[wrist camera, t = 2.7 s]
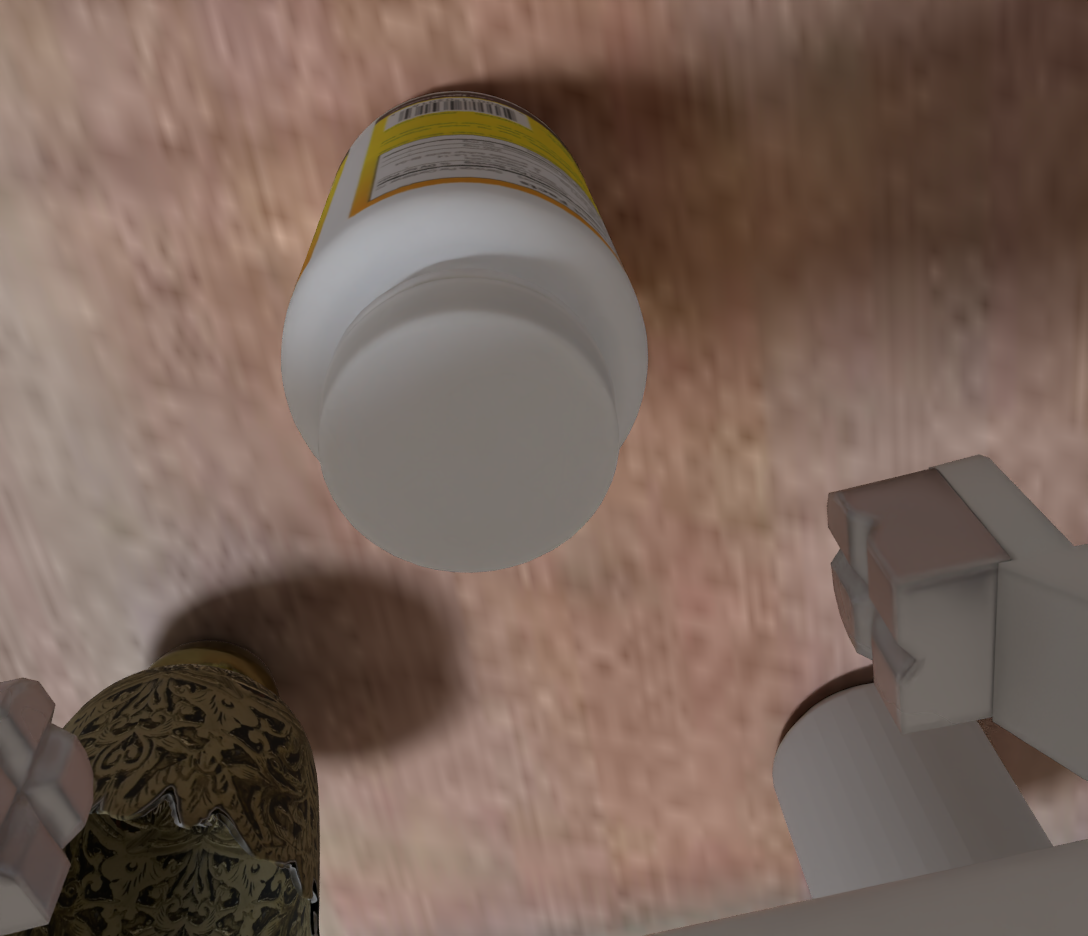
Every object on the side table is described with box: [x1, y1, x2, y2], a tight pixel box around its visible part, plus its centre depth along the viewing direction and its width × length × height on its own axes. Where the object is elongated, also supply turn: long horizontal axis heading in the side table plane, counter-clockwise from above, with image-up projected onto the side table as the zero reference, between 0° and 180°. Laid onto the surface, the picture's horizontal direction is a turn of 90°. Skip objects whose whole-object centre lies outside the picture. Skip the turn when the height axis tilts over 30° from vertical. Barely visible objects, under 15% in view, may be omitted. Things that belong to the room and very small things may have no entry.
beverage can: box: [772, 683, 1053, 899], centre depth 26 cm, size 6×6×12 cm
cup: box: [3, 640, 320, 936], centre depth 24 cm, size 8×7×8 cm
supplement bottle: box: [281, 91, 648, 573], centre depth 17 cm, size 6×6×10 cm
